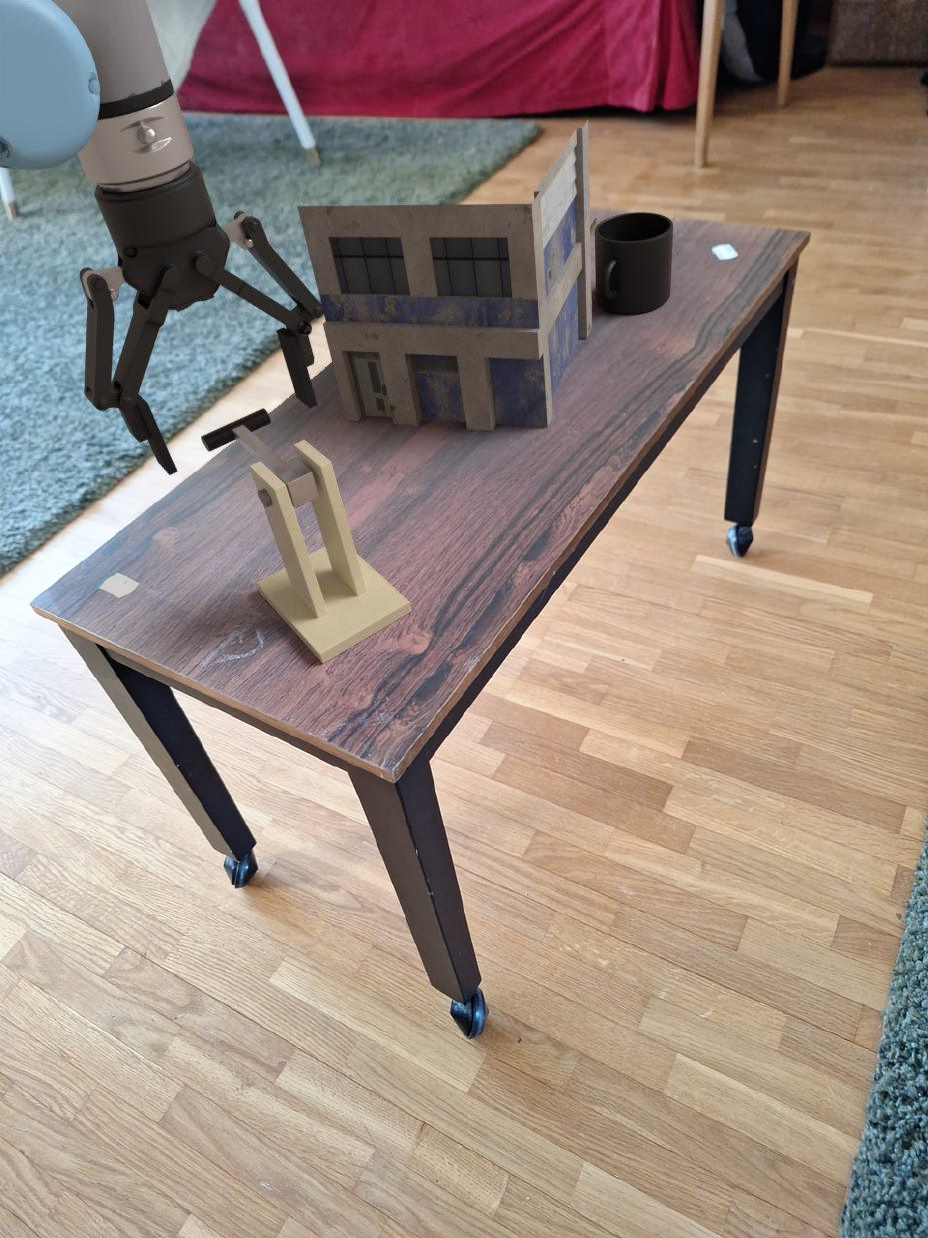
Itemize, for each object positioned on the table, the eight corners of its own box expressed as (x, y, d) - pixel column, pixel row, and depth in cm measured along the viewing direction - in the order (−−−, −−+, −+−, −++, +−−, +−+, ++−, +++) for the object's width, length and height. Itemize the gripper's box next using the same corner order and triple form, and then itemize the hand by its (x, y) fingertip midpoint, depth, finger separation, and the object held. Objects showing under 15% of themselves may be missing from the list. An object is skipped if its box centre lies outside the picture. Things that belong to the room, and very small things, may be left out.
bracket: (259, 592, 78) (205, 457, 68) (342, 547, 82) (303, 411, 71) (322, 664, 71) (273, 524, 61) (412, 611, 74) (379, 470, 64)
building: (346, 420, 98) (293, 208, 82) (418, 321, 113) (386, 127, 97) (544, 434, 91) (529, 206, 75) (592, 327, 106) (588, 118, 90)
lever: (206, 452, 74) (196, 428, 73) (267, 424, 76) (259, 400, 75) (274, 519, 66) (265, 494, 64) (340, 486, 68) (333, 460, 67)
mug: (571, 316, 109) (569, 244, 103) (618, 277, 115) (618, 207, 109) (638, 329, 105) (639, 255, 98) (683, 288, 111) (687, 216, 104)
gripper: (-22, 246, 53) (119, 516, 68) (324, 128, 61) (381, 390, 76) (-48, 219, 58) (89, 477, 72) (276, 112, 66) (339, 363, 81)
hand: (239, 433), depth 74 cm, fingers open, 13 cm apart
